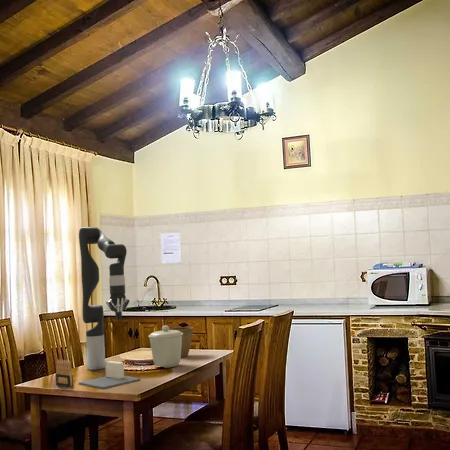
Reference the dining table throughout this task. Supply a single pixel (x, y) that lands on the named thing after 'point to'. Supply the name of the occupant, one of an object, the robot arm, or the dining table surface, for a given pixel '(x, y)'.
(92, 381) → the rubber mat
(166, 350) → the canister
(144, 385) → the dining table surface
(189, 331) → the plant pot
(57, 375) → the ammunition clip
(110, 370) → the cream block
